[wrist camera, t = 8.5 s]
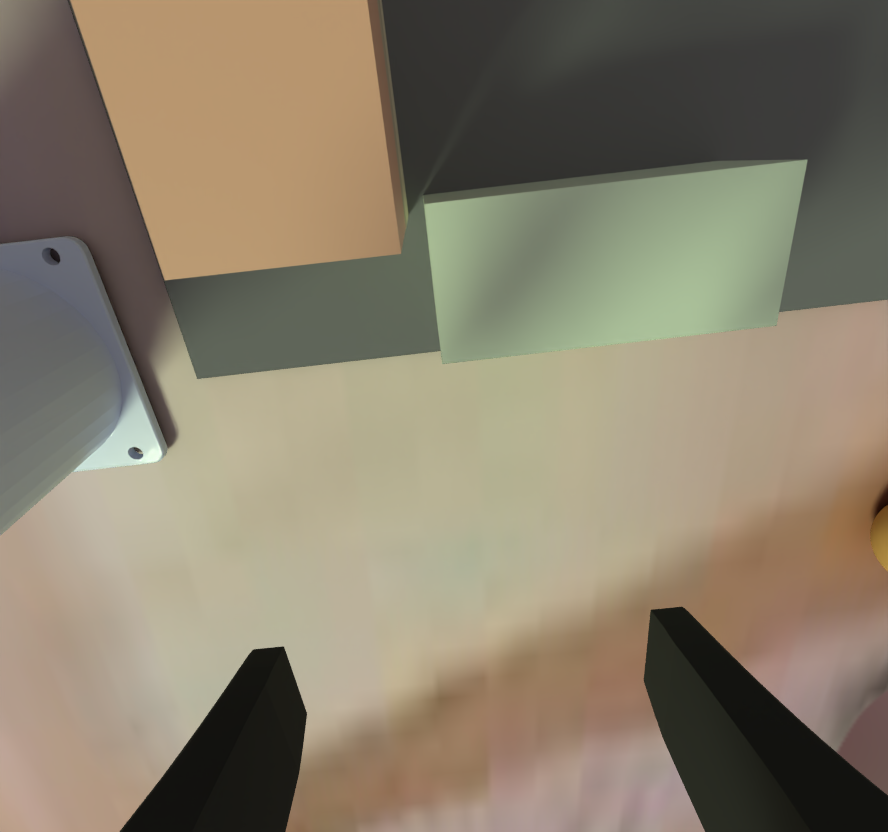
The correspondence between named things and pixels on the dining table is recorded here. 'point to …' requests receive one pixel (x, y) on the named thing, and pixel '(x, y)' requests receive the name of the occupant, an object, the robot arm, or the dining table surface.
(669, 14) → the mat
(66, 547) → the dining table surface
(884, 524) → the figurine
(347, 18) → the tan rectangular block
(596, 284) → the sage brick
